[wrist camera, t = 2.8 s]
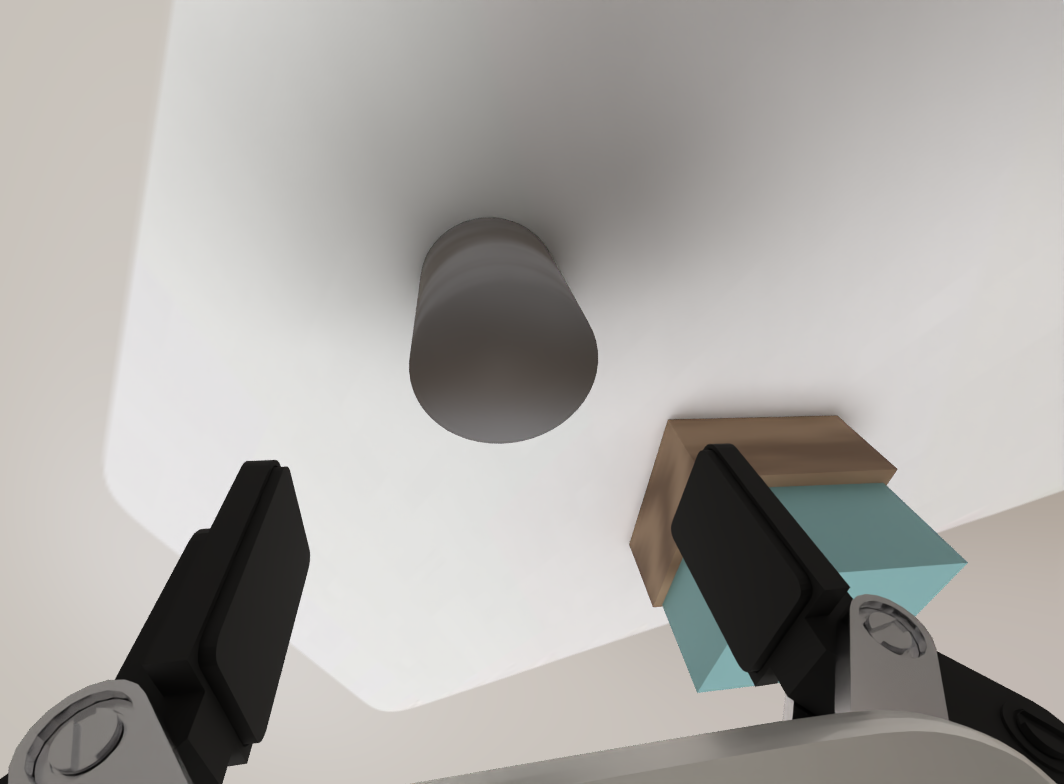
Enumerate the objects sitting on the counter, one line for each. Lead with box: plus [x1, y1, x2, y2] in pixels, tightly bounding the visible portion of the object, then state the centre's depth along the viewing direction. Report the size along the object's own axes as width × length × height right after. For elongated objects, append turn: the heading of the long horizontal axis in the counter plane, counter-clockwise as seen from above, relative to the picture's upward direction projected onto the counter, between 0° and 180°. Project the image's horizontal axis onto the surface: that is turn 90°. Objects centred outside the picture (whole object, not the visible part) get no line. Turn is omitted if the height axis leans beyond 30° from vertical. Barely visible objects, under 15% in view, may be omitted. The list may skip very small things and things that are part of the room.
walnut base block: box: [629, 416, 897, 607], centre depth 29 cm, size 11×11×5 cm
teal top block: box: [662, 483, 968, 693], centre depth 25 cm, size 10×10×5 cm
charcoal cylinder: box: [409, 218, 598, 444], centre depth 18 cm, size 6×6×7 cm
